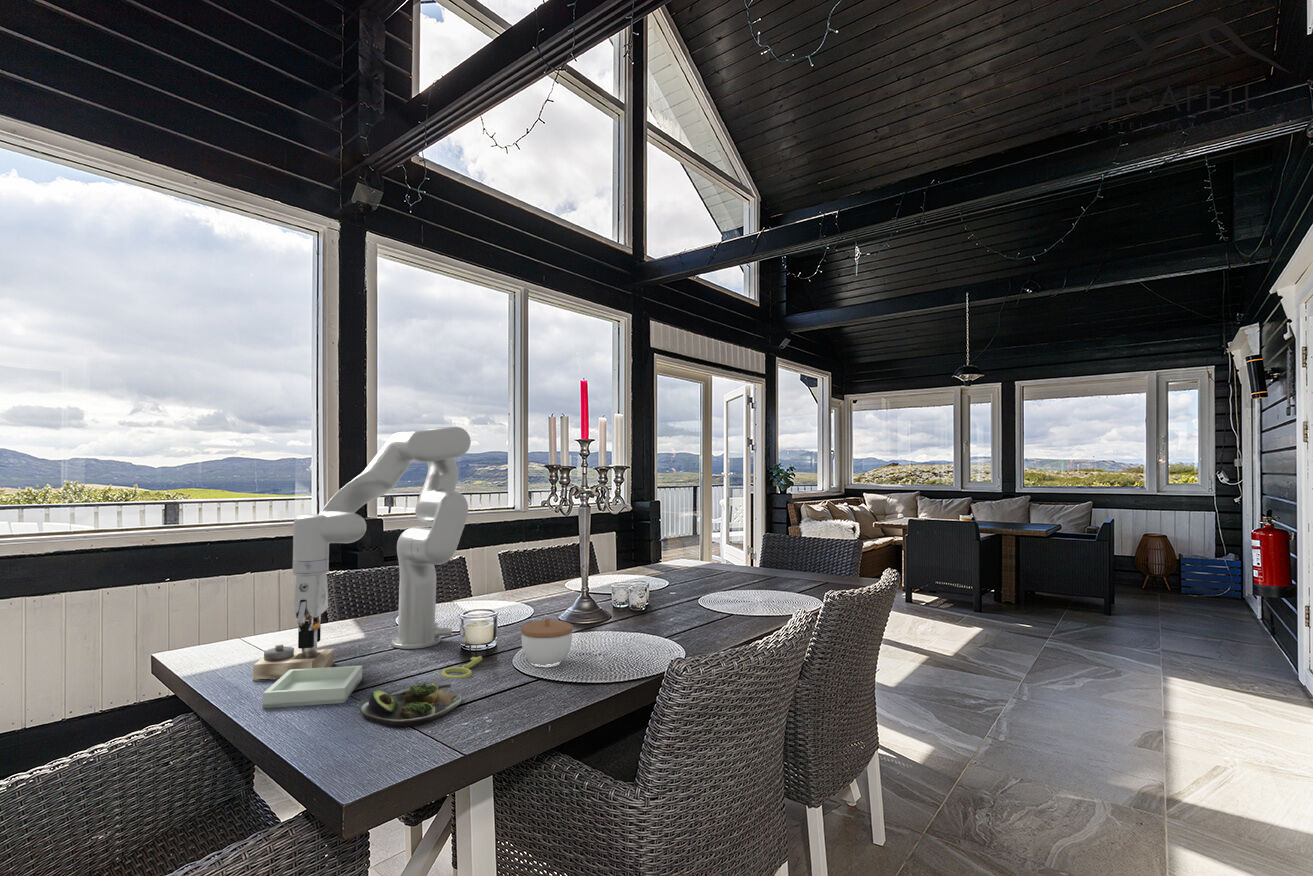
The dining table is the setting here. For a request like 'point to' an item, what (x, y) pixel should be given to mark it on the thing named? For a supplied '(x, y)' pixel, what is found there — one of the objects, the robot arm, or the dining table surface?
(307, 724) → the dining table surface
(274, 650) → the wooden holder
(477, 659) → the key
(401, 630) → the robot arm
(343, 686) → the tray
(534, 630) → the lidded bowl
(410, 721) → the salad plate
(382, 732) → the dining table surface
